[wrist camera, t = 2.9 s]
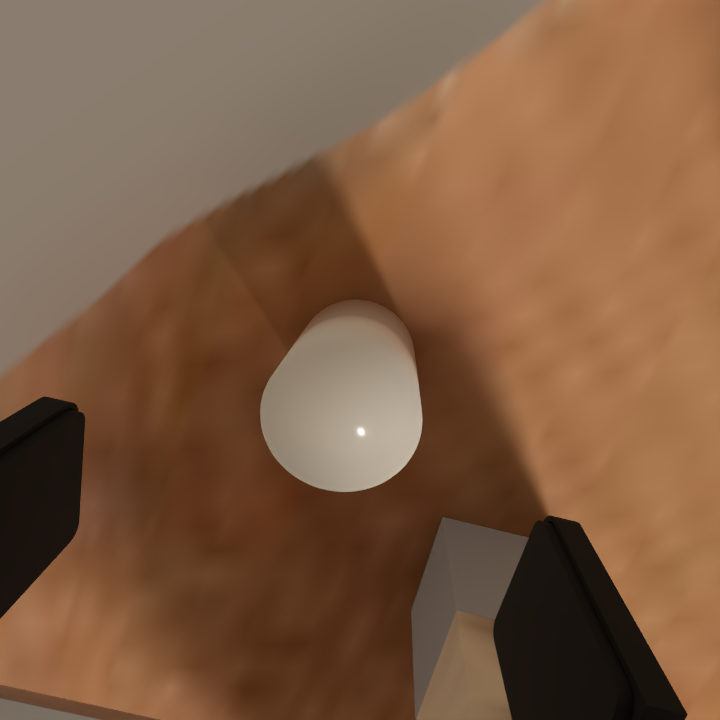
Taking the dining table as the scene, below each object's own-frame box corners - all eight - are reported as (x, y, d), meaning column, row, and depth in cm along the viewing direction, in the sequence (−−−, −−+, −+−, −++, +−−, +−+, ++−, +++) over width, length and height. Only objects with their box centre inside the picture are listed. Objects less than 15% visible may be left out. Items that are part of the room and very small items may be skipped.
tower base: (560, 545, 25) (608, 646, 19) (520, 637, 27) (554, 754, 21) (442, 516, 25) (456, 609, 19) (410, 610, 27) (415, 721, 21)
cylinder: (428, 315, 22) (442, 364, 15) (397, 421, 24) (399, 508, 17) (311, 286, 22) (275, 323, 15) (289, 395, 24) (247, 471, 17)
